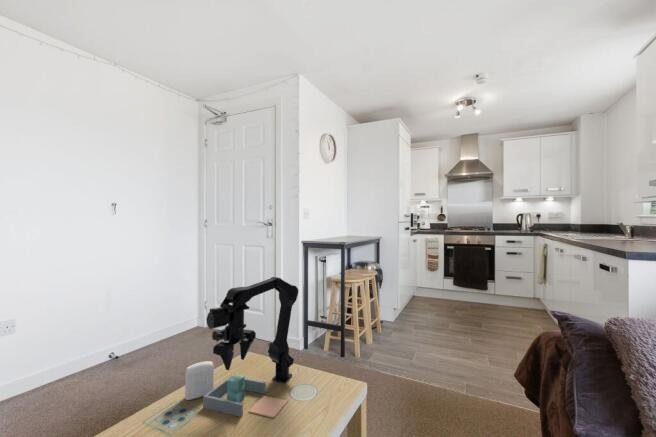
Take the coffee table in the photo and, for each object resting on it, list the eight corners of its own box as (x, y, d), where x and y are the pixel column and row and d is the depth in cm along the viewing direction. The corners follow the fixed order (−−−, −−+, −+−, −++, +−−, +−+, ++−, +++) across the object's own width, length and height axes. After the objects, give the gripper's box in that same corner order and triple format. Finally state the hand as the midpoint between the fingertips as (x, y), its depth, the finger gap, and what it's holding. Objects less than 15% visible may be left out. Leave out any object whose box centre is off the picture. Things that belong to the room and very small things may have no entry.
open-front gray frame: (231, 385, 123) (231, 375, 123) (265, 392, 117) (265, 381, 117) (203, 407, 108) (203, 396, 108) (241, 416, 102) (241, 405, 102)
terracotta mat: (263, 396, 114) (263, 395, 114) (287, 401, 111) (287, 400, 111) (248, 412, 105) (248, 411, 105) (274, 418, 101) (274, 417, 101)
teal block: (234, 395, 115) (234, 374, 116) (244, 397, 114) (244, 376, 114) (226, 401, 111) (227, 380, 111) (237, 404, 110) (237, 382, 110)
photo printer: (212, 388, 120) (212, 357, 120) (214, 393, 117) (215, 361, 117) (184, 396, 114) (184, 364, 115) (185, 402, 111) (186, 368, 111)
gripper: (233, 313, 125) (232, 352, 124) (200, 327, 107) (200, 372, 106) (256, 316, 121) (256, 355, 121) (227, 331, 103) (226, 377, 103)
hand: (235, 364), depth 113 cm, fingers open, 9 cm apart
